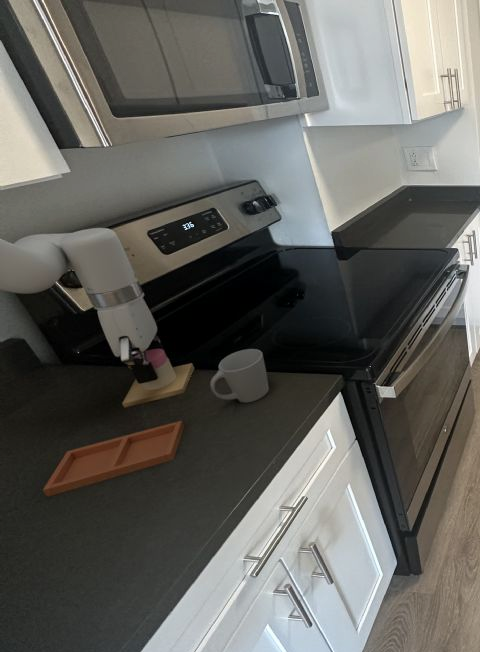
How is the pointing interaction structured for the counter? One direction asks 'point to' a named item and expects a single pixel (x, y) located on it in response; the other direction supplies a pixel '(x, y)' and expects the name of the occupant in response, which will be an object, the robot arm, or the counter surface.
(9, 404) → the counter surface
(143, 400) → the board
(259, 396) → the cup
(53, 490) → the divided tray
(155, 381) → the pink lidded jar
